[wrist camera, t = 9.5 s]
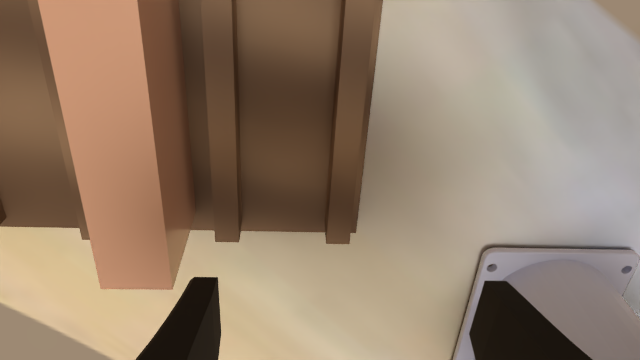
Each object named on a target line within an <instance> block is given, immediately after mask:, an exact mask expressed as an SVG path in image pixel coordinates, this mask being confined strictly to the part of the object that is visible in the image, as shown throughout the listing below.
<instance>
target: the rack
mask: <svg viewBox="0 0 640 360" xmlns="http://www.w3.org/2000/svg"><path fill="white" fill-rule="evenodd" d="M382 3H383V0H179V12H180V24H181V36H182V49H183V61H184V73H185V85H186V97H187V110H188V122H189V134H190V146H191V158H192V170H193V183H194V195H195V207H196V213H195V216H194V219H193V223H192V226H191V229H190V230H215V242H239V239H240V232H241V231H282V232H325V235H326V244H349V242H350V233H356V227H357V218H358V210H359V201H360V193H361V184H362V175H363V167H364V158H365V150H366V141H367V132H368V124H369V115H370V107H371V98H372V89H373V81H374V72H375V64H376V55H377V46H378V38H379V29H380V20H381V12H382ZM0 226H7V227H62V228H80V232H81V236H82V240H90V237H89V232H88V228H87V223H86V219H85V214H84V210H83V205H82V200H81V196H80V191H79V187H78V182H77V178H76V173H75V168H74V164H73V159H72V155H71V150H70V146H69V141H68V137H67V132H66V127H65V123H64V118H63V114H62V109H61V105H60V100H59V95H58V91H57V86H56V82H55V77H54V73H53V68H52V63H51V59H50V54H49V50H48V45H47V41H46V36H45V31H44V27H43V22H42V18H41V13H40V9H39V4H38V0H0Z"/></svg>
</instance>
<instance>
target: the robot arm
mask: <svg viewBox="0 0 640 360" xmlns="http://www.w3.org/2000/svg"><path fill="white" fill-rule="evenodd" d="M639 260H640V257H639V255H638V254H637V253H636V252H635V251H633V250H611V249H550V248H490V249H487V250H486V251H485V252H484V253H483V255H482V258H481V261H480V265H479V268H478V272H477V275H476V279H475V282H474V286H473V289H472V293H471V296H470V300H469V304H468V307H467V311H466V314H465V318H464V321H463V325H462V328H461V332H460V335H459V339H458V342H457V346H456V350H455V353H454V357H453V360H640V319H639V318H638V316H637V315H636V314H635V313H634V311H633V310H632V309H631V308H630V306H629V305H628V304H627V303H626V301H625V300H624V299H623V298H622V296H623V294H624V292H625V289H626V287H627V285H628V283H629V281H630V279H631V277H632V275H633V273H634V271H635V269H636V267H637V265H638V263H639ZM490 264H493V265H492V266H490V267H488V266H489V265H490ZM625 266H626V267H625ZM623 267H624V268H623ZM220 338H221V323H220V307H219V290H218V277H194V278H193V279H191V280H190V282H189V284H188V285H187V287H186V289H185V291H184V292H183V294H182V296H181V297H180V299H179V301H178V302H177V304H176V305H175V307H174V308H173V310H172V311H171V313H170V314H169V316H168V317H167V319H166V320H165V322H164V323H163V324H162V326H161V327H160V329H159V330H158V331H157V333H156V334H155V335H154V337H153V338H152V340H151V341H150V342H149V343H148V345H147V346H146V347H145V348H144V350H143V351H142V352H141V353H140V355H139V356H138V357H137V358H136V360H218V356H219V347H220Z"/></svg>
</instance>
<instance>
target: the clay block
mask: <svg viewBox="0 0 640 360" xmlns="http://www.w3.org/2000/svg"><path fill="white" fill-rule="evenodd" d="M38 4H39V9H40V13H41V18H42V22H43V27H44V31H45V36H46V41H47V45H48V50H49V54H50V59H51V63H52V68H53V73H54V77H55V82H56V86H57V91H58V95H59V100H60V105H61V109H62V114H63V118H64V123H65V127H66V132H67V137H68V141H69V146H70V150H71V155H72V159H73V164H74V168H75V173H76V178H77V182H78V187H79V191H80V196H81V200H82V205H83V210H84V214H85V219H86V223H87V228H88V232H89V237H90V242H91V246H92V251H93V255H94V260H95V264H96V269H97V274H98V278H99V283H100V287H101V289H167V290H173V286H174V283H175V280H176V276H177V273H178V270H179V266H180V263H181V259H182V256H183V253H184V249H185V246H186V243H187V239H188V236H189V233H190V229H191V226H192V223H193V219H194V216H195V213H196V207H195V195H194V183H193V170H192V158H191V146H190V134H189V122H188V110H187V97H186V85H185V73H184V61H183V49H182V36H181V24H180V12H179V0H38Z"/></svg>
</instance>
